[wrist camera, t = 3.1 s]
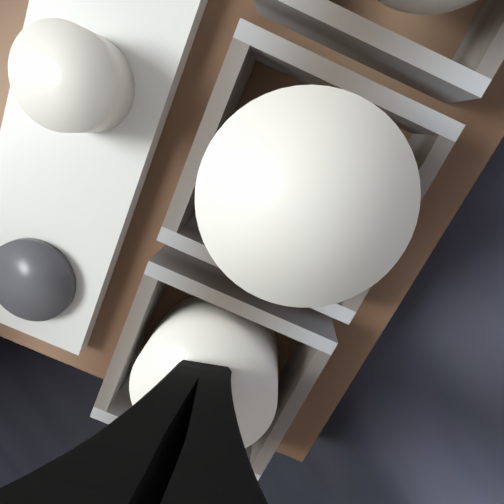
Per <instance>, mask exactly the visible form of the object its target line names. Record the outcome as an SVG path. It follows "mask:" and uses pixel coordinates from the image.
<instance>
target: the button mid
mask: <svg viewBox="0 0 504 504" xmlns="http://www.w3.org/2000/svg"><path fill="white" fill-rule="evenodd" d="M420 199H421V188H420V177H419V172H418V167H417V163H416V160H415V157H414V154H413V152H412V149H411V147H410V145H409V143H408V141H407V140H406V138H405V136H404V135H403V133H402V132H401V130H400V129H399V128H398V126H397V125H396V124H395V122H394V121H393V120H392V119H391V118H390V117H389V116H388V115H387V114H386V113H385V112H383V111H382V110H381V109H380V108H378V107H377V106H376V105H374V104H373V103H372V102H370V101H368V100H366V99H364V98H363V97H361V96H359V95H357V94H354V93H352V92H349V91H346V90H344V89H340V88H335V87H331V86H323V85H296V86H291V87H286V88H281V89H278V90H275V91H272V92H269V93H266V94H264V95H262V96H260V97H258V98H256V99H254V100H252V101H250V102H249V103H247V104H246V105H245V106H243V107H242V108H240V109H239V110H238V111H236V112H235V113H234V114H233V115H232V116H231V117H230V118H229V119H228V120H227V121H226V122H225V123H224V124H223V125H222V126H221V128H220V129H219V130H218V131H217V132H216V134H215V136H214V137H213V139H212V140H211V142H210V143H209V145H208V147H207V149H206V151H205V154H204V156H203V158H202V161H201V164H200V167H199V170H198V174H197V179H196V185H195V213H196V219H197V224H198V228H199V231H200V234H201V237H202V240H203V242H204V244H205V246H206V248H207V250H208V252H209V254H210V256H211V257H212V259H213V260H214V262H215V263H216V264H217V266H218V267H219V268H220V269H221V270H222V271H223V273H224V274H225V275H226V276H227V277H228V278H229V279H231V280H232V281H233V282H234V283H235V284H236V285H238V286H239V287H241V288H242V289H244V290H245V291H247V292H248V293H250V294H252V295H254V296H256V297H258V298H260V299H263V300H265V301H268V302H271V303H275V304H279V305H283V306H289V307H298V308H305V307H320V306H327V305H331V304H335V303H339V302H342V301H344V300H347V299H350V298H352V297H354V296H356V295H358V294H360V293H362V292H364V291H365V290H367V289H368V288H370V287H371V286H373V285H374V284H376V283H377V282H378V281H379V280H380V279H381V278H383V277H384V276H385V275H386V274H387V273H388V272H389V271H390V270H391V269H392V267H393V266H394V265H395V264H396V263H397V262H398V260H399V259H400V257H401V256H402V254H403V253H404V251H405V250H406V248H407V246H408V244H409V242H410V240H411V238H412V235H413V232H414V230H415V227H416V224H417V219H418V215H419V210H420Z"/></svg>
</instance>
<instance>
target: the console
mask: <svg viewBox="0 0 504 504" xmlns="http://www.w3.org/2000/svg"><path fill="white" fill-rule="evenodd" d="M28 3H29V0H0V129H1V125H2V120H3V116H4V111H5V107H6V102H7V98H8V93H9V89H10V82H9V77H8V58H9V53H10V49H11V47H12V44H13V42H14V40H15V39H16V37H17V35H18V34H19V33H20V32H21V31H22V30H23V26H24V21H25V17H26V12H27V8H28ZM296 85H323V86H331V87H335V88H340V89H344V90H346V91H349V92H352V93H354V94H357V95H359V96H361V97H363V98H364V99H366V100H368V101H370V102H372V103H373V104H374V105H376V106H377V107H378V108H380V109H381V110H382V111H383V112H385V113H386V114H387V115H388V116H389V117H390V118H391V119H392V120H393V121H394V122H395V124H396V125H397V126H398V128H399V129H400V130H401V132H402V133H403V135H404V136H405V138H406V140H407V141H408V143H409V145H410V147H411V149H412V152H413V154H414V157H415V160H416V163H417V167H418V172H419V177H420V188H421V199H420V210H419V215H418V219H417V224H416V227H415V230H414V232H413V235H412V238H411V240H410V242H409V244H408V246H407V248H406V250H405V251H404V253H403V254H402V256H401V257H400V259H399V260H398V262H397V263H396V264H395V265H394V266H393V267H392V269H391V270H390V271H389V272H388V273H387V274H386V275H385V276H384V277H383V278H381V279H380V280H379V281H378V282H377V283H376V284H374V285H373V286H371V287H370V288H368V289H367V290H365V291H364V292H362V293H360V294H358V295H356V296H354V297H352V298H350V299H347V300H344V301H342V302H339V303H335V304H331V305H327V306H320V307H305V308H298V307H289V306H283V305H279V304H275V303H271V302H268V301H265V300H263V299H260V298H258V297H256V296H254V295H252V294H250V293H248V292H247V291H245V290H244V289H242V288H241V287H239V286H238V285H236V284H235V283H234V282H233V281H232V280H231V279H229V278H228V277H227V276H226V275H225V274H224V273H223V271H222V270H221V269H220V268H219V267H218V266H217V264H216V263H215V262H214V260H213V259H212V257H211V256H210V254H209V252H208V250H207V248H206V246H205V244H204V242H203V240H202V237H201V234H200V231H199V228H198V224H197V219H196V213H195V185H196V179H197V174H198V170H199V167H200V164H201V161H202V158H203V156H204V154H205V151H206V149H207V147H208V145H209V143H210V142H211V140H212V139H213V137H214V136H215V134H216V132H217V131H218V130H219V129H220V128H221V126H222V125H223V124H224V123H225V122H226V121H227V120H228V119H229V118H230V117H231V116H232V115H233V114H234V113H235V112H236V111H238V110H239V109H240V108H242V107H243V106H245V105H246V104H247V103H249V102H250V101H252V100H254V99H256V98H258V97H260V96H262V95H264V94H266V93H269V92H272V91H275V90H278V89H281V88H286V87H291V86H296ZM503 136H504V0H478V1H476V2H474V3H471V4H469V5H467V6H465V7H463V8H460V9H457V10H454V11H450V12H446V13H441V14H431V15H420V14H410V13H406V12H401V11H398V10H395V9H393V8H390V7H388V6H386V5H384V4H382V3H381V2H379V1H377V0H208V1H207V4H206V7H205V10H204V13H203V16H202V18H201V21H200V24H199V27H198V30H197V33H196V36H195V39H194V41H193V44H192V47H191V50H190V53H189V56H188V59H187V61H186V64H185V67H184V70H183V73H182V76H181V79H180V81H179V84H178V87H177V90H176V93H175V96H174V99H173V102H172V104H171V107H170V110H169V113H168V116H167V119H166V122H165V124H164V127H163V130H162V133H161V136H160V139H159V142H158V145H157V147H156V150H155V153H154V156H153V159H152V162H151V165H150V167H149V170H148V173H147V176H146V179H145V182H144V185H143V187H142V190H141V193H140V196H139V199H138V202H137V205H136V208H135V210H134V213H133V216H132V219H131V222H130V225H129V228H128V230H127V233H126V236H125V239H124V242H123V245H122V248H121V251H120V253H119V256H118V259H117V262H116V265H115V268H114V271H113V273H112V276H111V279H110V282H109V285H108V288H107V291H106V293H105V296H104V299H103V302H102V305H101V308H100V311H99V314H98V316H97V319H96V322H95V325H94V328H93V331H92V334H91V336H90V339H89V342H88V345H87V347H86V348H85V349H84V350H83V351H82V352H81V353H80V354H79V356H78V355H76V354H73V353H71V352H69V351H66V350H64V349H61V348H59V347H57V346H54V345H52V344H49V343H47V342H45V341H42V340H40V339H38V338H35V337H33V336H30V335H28V334H26V333H23V332H21V331H18V330H16V329H14V328H11V327H9V326H7V325H4V324H2V323H0V336H1V337H3V338H6V339H8V340H11V341H13V342H15V343H18V344H20V345H23V346H25V347H27V348H30V349H32V350H35V351H37V352H39V353H42V354H44V355H47V356H49V357H51V358H54V359H56V360H59V361H61V362H63V363H66V364H68V365H71V366H73V367H75V368H78V369H80V370H83V371H85V372H87V373H90V374H92V375H95V376H97V377H99V378H102V379H104V381H103V383H102V386H101V389H100V391H99V394H98V397H97V399H96V402H95V404H94V407H93V410H92V412H91V415H90V417H92V418H94V419H97V420H99V421H101V422H104V423H106V424H110V423H111V422H112V421H114V420H115V419H116V418H117V417H119V416H120V415H121V414H122V413H124V412H125V411H126V410H128V409H129V408H130V407H131V406H132V402H131V399H130V393H129V380H130V374H131V371H132V367H133V365H134V363H135V361H136V359H137V357H138V356H139V354H140V353H141V351H142V350H143V348H144V346H145V345H146V343H147V342H148V340H149V339H150V337H151V336H152V334H153V332H154V331H155V329H156V328H157V326H158V325H159V323H160V322H161V320H162V319H163V317H164V316H165V314H166V313H167V312H168V311H169V310H170V309H171V308H173V307H174V306H175V305H176V304H178V303H180V302H181V301H183V300H185V299H188V298H190V297H194V296H196V297H198V298H200V299H203V300H205V301H207V302H209V303H212V304H214V305H216V306H219V307H221V308H223V309H226V310H228V311H230V312H233V313H235V314H237V315H239V316H242V317H244V318H246V319H249V320H251V321H253V322H256V323H258V324H260V325H262V326H265V327H267V328H269V329H272V330H273V331H274V333H275V336H276V339H277V343H278V349H279V364H278V402H277V409H276V413H275V416H274V419H273V421H272V423H271V425H270V426H269V428H268V429H267V431H266V432H265V433H264V434H263V435H262V437H261V438H259V439H258V440H257V441H256V442H255V443H253V444H252V445H250V446H249V447H247V448H245V449H246V452H247V455H248V458H249V461H250V464H251V466H252V469H253V471H254V474H255V476H256V479H257V481H258V480H259V478H260V476H261V475H262V473H263V471H264V470H265V468H266V466H267V464H268V463H269V461H270V459H271V458H272V456H273V454H274V452H275V451H277V452H279V453H282V454H284V455H286V456H289V457H291V458H294V459H296V460H298V461H301V462H302V461H303V460H304V458H305V456H306V455H307V453H308V452H309V450H310V448H311V447H312V445H313V444H314V442H315V440H316V439H317V437H318V435H319V434H320V432H321V431H322V429H323V427H324V426H325V424H326V423H327V421H328V419H329V418H330V416H331V414H332V413H333V411H334V410H335V408H336V406H337V405H338V403H339V401H340V400H341V398H342V397H343V395H344V393H345V392H346V390H347V389H348V387H349V385H350V384H351V382H352V380H353V379H354V377H355V376H356V374H357V372H358V371H359V369H360V368H361V366H362V364H363V363H364V361H365V359H366V358H367V356H368V355H369V353H370V351H371V350H372V348H373V346H374V345H375V343H376V342H377V340H378V338H379V337H380V335H381V334H382V332H383V330H384V329H385V327H386V325H387V324H388V322H389V321H390V319H391V317H392V316H393V314H394V313H395V311H396V309H397V308H398V306H399V304H400V303H401V301H402V300H403V298H404V296H405V295H406V293H407V292H408V290H409V288H410V287H411V285H412V283H413V282H414V280H415V279H416V277H417V275H418V274H419V272H420V270H421V269H422V267H423V266H424V264H425V262H426V261H427V259H428V258H429V256H430V254H431V253H432V251H433V249H434V248H435V246H436V245H437V243H438V241H439V240H440V238H441V237H442V235H443V233H444V232H445V230H446V228H447V227H448V225H449V224H450V222H451V220H452V219H453V217H454V215H455V214H456V212H457V211H458V209H459V207H460V206H461V204H462V203H463V201H464V199H465V198H466V196H467V194H468V193H469V191H470V190H471V188H472V186H473V185H474V183H475V182H476V180H477V178H478V177H479V175H480V173H481V172H482V170H483V169H484V167H485V165H486V164H487V162H488V161H489V159H490V157H491V156H492V154H493V152H494V151H495V149H496V148H497V146H498V144H499V143H500V141H501V139H502V138H503Z"/></svg>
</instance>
